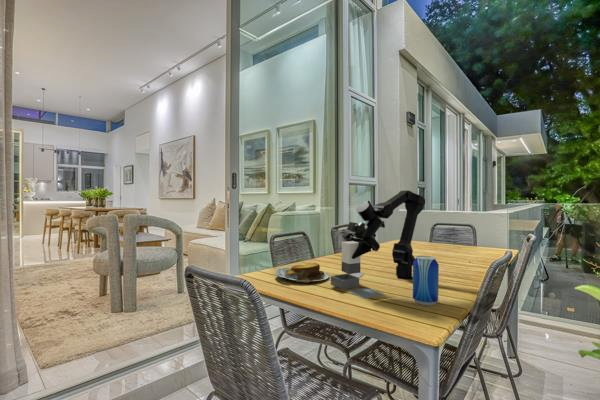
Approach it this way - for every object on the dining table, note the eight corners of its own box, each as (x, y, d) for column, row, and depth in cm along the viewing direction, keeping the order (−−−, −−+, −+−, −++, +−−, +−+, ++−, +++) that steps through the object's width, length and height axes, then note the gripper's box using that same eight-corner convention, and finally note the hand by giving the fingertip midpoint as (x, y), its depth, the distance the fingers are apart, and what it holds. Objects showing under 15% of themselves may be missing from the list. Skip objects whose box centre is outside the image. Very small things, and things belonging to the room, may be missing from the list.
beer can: (436, 308, 106) (436, 260, 106) (410, 303, 110) (410, 258, 110) (439, 301, 113) (440, 256, 113) (415, 297, 118) (415, 254, 117)
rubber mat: (367, 288, 128) (367, 287, 128) (384, 295, 119) (384, 294, 119) (347, 292, 123) (347, 290, 123) (363, 299, 114) (363, 298, 114)
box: (352, 269, 131) (352, 241, 131) (360, 272, 126) (360, 242, 126) (341, 271, 129) (341, 241, 129) (349, 274, 124) (349, 243, 124)
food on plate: (286, 270, 160) (286, 257, 160) (334, 274, 152) (334, 260, 152) (265, 283, 136) (265, 267, 136) (321, 288, 128) (321, 272, 128)
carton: (352, 281, 138) (352, 269, 137) (364, 286, 130) (364, 273, 130) (325, 286, 131) (325, 273, 131) (336, 291, 124) (336, 277, 124)
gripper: (345, 213, 137) (324, 240, 133) (374, 216, 121) (350, 247, 116) (360, 231, 141) (339, 257, 136) (389, 235, 124) (367, 266, 120)
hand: (348, 257), depth 127 cm, fingers closed on box, 5 cm apart
